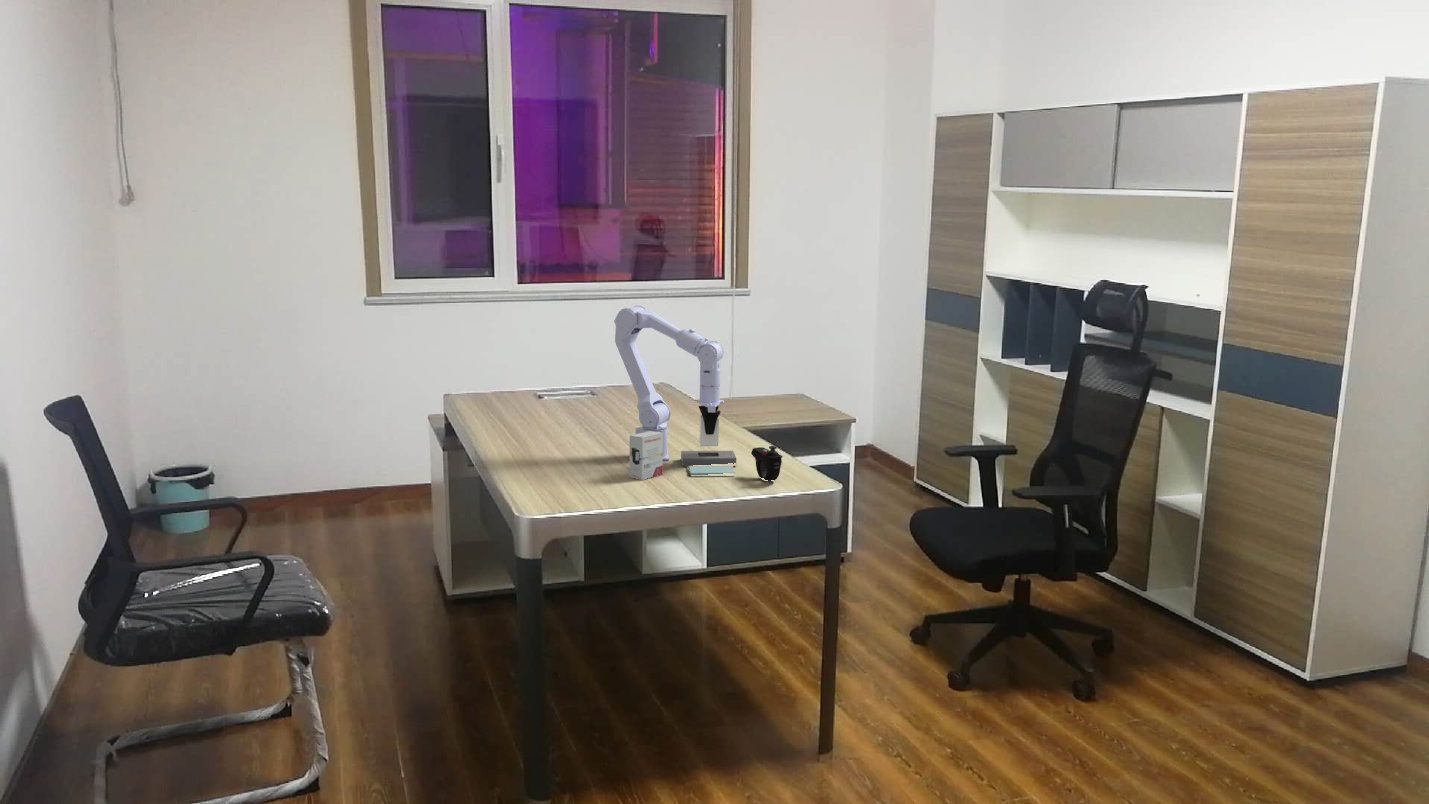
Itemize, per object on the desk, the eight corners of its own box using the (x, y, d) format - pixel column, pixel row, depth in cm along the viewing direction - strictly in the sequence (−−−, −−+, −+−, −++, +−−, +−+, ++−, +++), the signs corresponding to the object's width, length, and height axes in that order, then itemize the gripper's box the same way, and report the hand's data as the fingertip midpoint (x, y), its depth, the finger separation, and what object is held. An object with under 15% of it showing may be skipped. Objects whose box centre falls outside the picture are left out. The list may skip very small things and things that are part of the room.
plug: (700, 446, 308) (701, 418, 307) (699, 443, 312) (700, 415, 311) (718, 446, 309) (718, 418, 307) (717, 443, 313) (717, 415, 311)
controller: (769, 486, 288) (770, 449, 286) (748, 475, 299) (749, 439, 297) (783, 485, 289) (784, 448, 287) (762, 474, 300) (763, 438, 299)
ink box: (650, 471, 301) (650, 429, 299) (663, 474, 298) (663, 432, 296) (628, 477, 294) (628, 434, 292) (641, 480, 291) (642, 437, 289)
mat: (690, 476, 296) (690, 473, 296) (688, 469, 304) (688, 465, 304) (734, 476, 297) (734, 472, 297) (731, 469, 305) (731, 465, 305)
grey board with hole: (682, 467, 306) (682, 458, 306) (681, 459, 315) (681, 450, 315) (736, 466, 308) (736, 458, 307) (732, 459, 316) (733, 450, 316)
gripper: (726, 390, 300) (725, 438, 303) (721, 380, 315) (720, 427, 317) (701, 389, 300) (700, 438, 302) (697, 380, 314) (696, 427, 317)
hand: (709, 432), depth 310 cm, fingers closed on plug, 4 cm apart
